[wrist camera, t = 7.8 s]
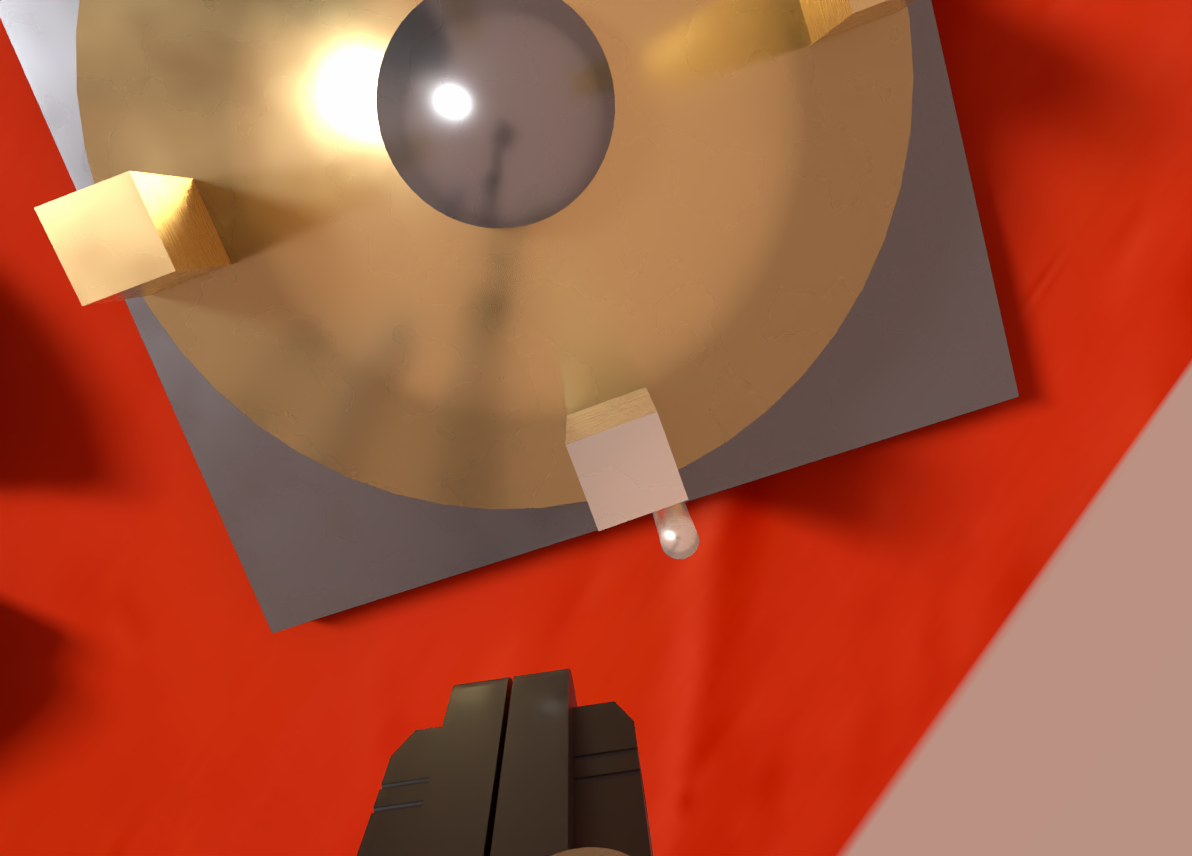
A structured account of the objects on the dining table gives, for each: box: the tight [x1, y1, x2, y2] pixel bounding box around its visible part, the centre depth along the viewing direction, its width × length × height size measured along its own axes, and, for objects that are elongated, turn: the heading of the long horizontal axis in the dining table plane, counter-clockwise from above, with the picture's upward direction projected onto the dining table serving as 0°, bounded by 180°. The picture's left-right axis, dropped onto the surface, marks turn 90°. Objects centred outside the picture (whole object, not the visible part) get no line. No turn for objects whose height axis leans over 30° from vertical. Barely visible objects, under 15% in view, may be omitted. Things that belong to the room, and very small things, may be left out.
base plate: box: [0, 0, 1019, 633], centre depth 25 cm, size 26×26×8 cm
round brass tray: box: [34, 0, 916, 531], centre depth 23 cm, size 22×22×6 cm
